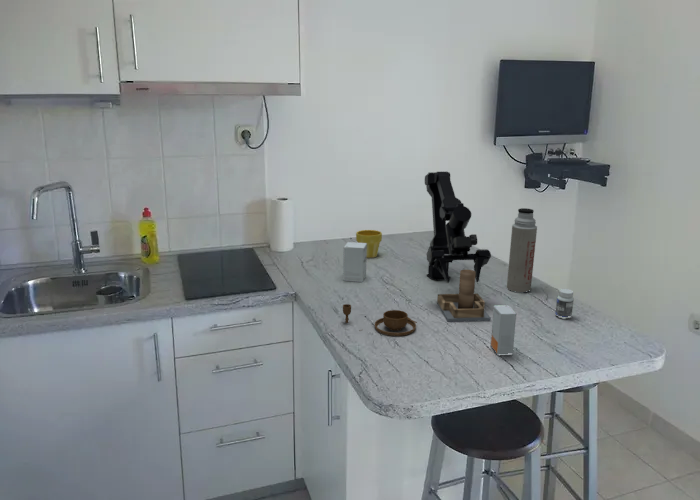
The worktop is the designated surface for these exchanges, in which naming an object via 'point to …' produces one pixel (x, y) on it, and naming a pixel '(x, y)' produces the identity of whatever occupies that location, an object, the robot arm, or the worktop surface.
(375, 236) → the plant pot
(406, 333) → the place setting
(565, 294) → the pill bottle
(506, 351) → the skincare box
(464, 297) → the walnut peg
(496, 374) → the worktop surface
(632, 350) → the worktop surface
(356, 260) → the supplement box
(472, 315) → the keyhole plate
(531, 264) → the thermos bottle
